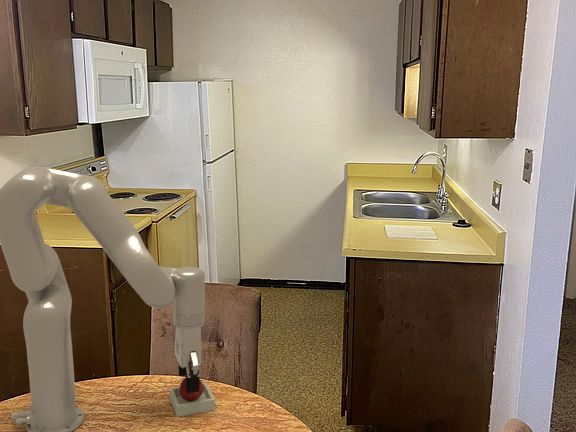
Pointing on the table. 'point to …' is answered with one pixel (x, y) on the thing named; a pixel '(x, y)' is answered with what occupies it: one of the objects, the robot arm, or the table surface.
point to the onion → (190, 396)
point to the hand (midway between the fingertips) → (188, 382)
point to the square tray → (186, 408)
